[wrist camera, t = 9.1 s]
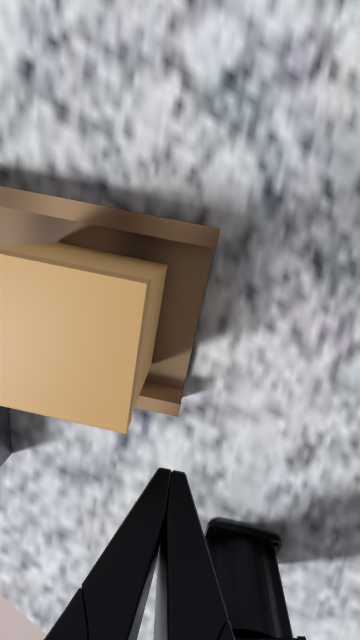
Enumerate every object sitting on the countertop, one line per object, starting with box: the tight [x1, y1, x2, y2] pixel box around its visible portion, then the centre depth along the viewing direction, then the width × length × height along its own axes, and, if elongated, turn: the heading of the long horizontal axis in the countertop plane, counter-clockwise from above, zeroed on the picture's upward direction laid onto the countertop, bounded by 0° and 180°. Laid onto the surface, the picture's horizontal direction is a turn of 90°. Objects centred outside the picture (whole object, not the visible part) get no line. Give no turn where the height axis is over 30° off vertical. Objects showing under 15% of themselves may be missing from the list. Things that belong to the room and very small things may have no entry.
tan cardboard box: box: [0, 242, 167, 434], centre depth 14 cm, size 7×7×6 cm
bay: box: [0, 186, 220, 417], centre depth 16 cm, size 22×12×3 cm, turn 80°
